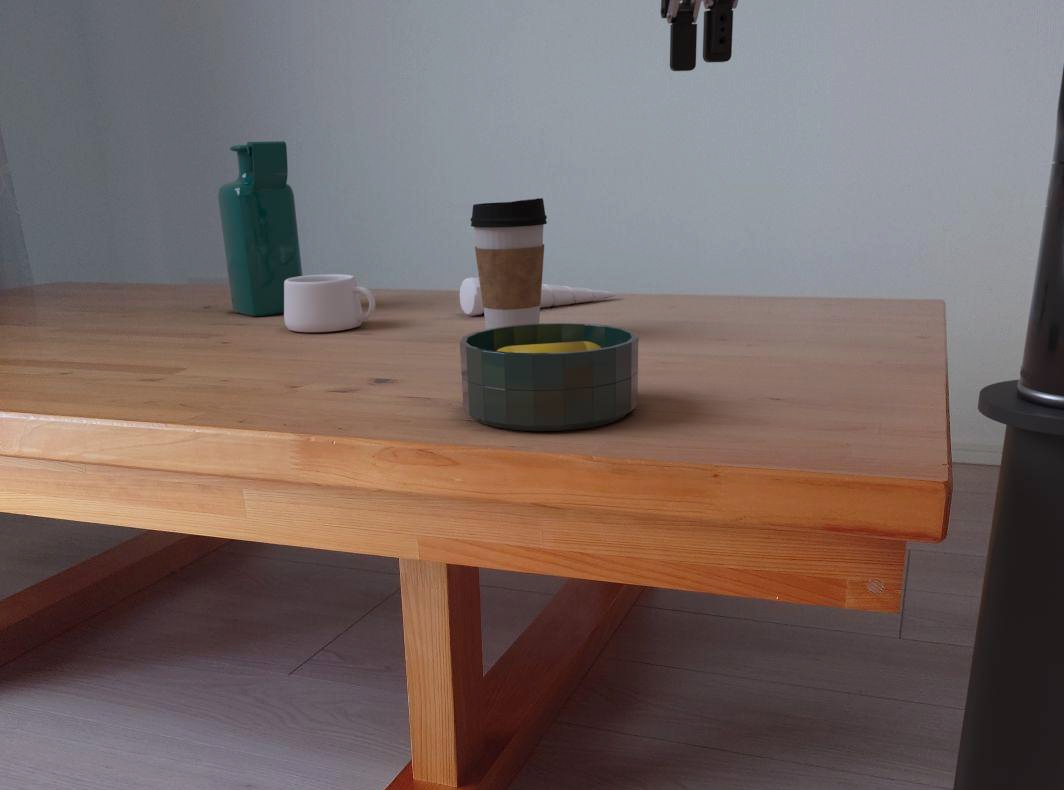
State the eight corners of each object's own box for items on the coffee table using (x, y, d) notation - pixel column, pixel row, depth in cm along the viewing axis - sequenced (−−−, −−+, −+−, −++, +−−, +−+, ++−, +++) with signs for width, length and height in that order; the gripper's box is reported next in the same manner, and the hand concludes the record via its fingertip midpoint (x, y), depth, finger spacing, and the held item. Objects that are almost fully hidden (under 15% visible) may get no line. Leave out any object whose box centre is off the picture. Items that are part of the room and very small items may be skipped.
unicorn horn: (631, 301, 139) (631, 265, 137) (472, 318, 129) (470, 280, 128) (613, 297, 143) (613, 262, 141) (458, 314, 133) (456, 276, 132)
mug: (270, 333, 123) (264, 282, 121) (308, 320, 132) (303, 273, 129) (360, 335, 120) (355, 283, 117) (393, 322, 128) (389, 273, 126)
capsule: (617, 403, 82) (603, 385, 86) (618, 348, 80) (604, 333, 84) (489, 412, 81) (480, 394, 85) (487, 356, 79) (478, 341, 83)
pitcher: (228, 312, 141) (205, 143, 133) (282, 305, 146) (264, 142, 138) (259, 318, 134) (238, 141, 126) (316, 311, 139) (298, 140, 131)
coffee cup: (527, 346, 110) (522, 201, 104) (461, 341, 113) (454, 201, 108) (562, 333, 116) (560, 196, 111) (499, 329, 120) (494, 197, 115)
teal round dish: (653, 396, 86) (654, 325, 84) (611, 439, 74) (611, 357, 71) (500, 388, 90) (498, 321, 88) (436, 427, 78) (431, 350, 76)
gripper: (787, -186, 74) (774, 58, 80) (718, -134, 87) (711, 72, 93) (690, -188, 73) (684, 60, 79) (634, -135, 86) (632, 74, 92)
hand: (698, 66), depth 86 cm, fingers open, 8 cm apart
